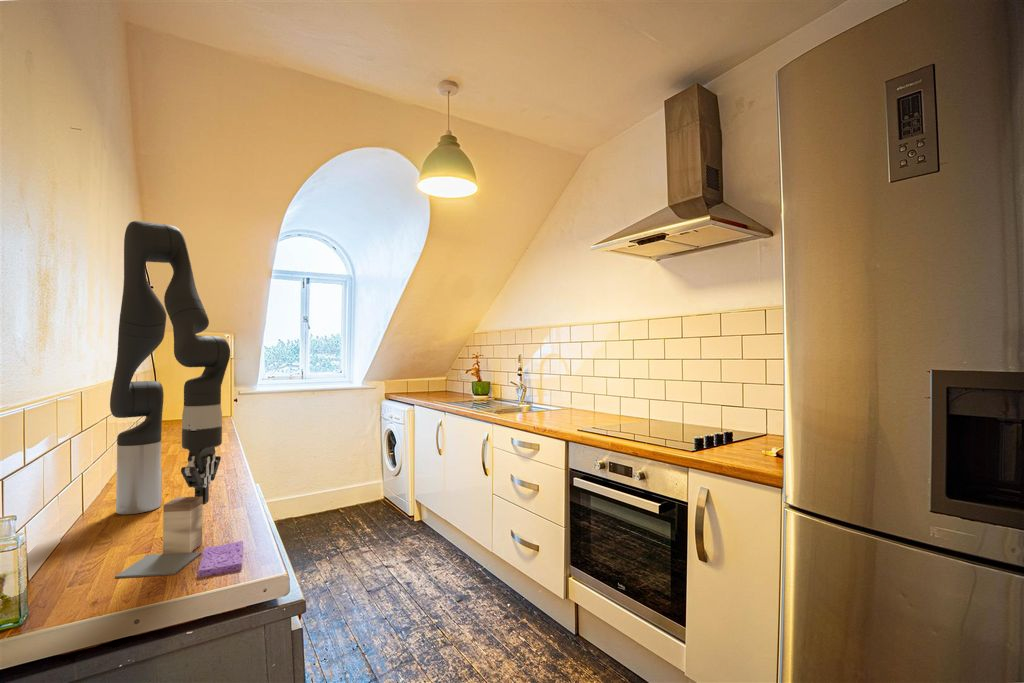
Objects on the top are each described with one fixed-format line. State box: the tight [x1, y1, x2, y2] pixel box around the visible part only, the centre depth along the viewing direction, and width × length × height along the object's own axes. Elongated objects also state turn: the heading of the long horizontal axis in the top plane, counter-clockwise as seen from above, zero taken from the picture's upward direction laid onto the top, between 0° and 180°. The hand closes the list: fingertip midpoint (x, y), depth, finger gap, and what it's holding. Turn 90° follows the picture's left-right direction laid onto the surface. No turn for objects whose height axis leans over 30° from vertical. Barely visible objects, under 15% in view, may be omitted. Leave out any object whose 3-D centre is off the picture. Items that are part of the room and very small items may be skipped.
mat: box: [114, 551, 203, 579], centre depth 93 cm, size 10×10×1 cm
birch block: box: [162, 496, 204, 554], centre depth 101 cm, size 5×5×10 cm
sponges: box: [197, 540, 244, 579], centre depth 95 cm, size 7×13×2 cm, turn 28°
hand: (201, 503), depth 108 cm, fingers closed
